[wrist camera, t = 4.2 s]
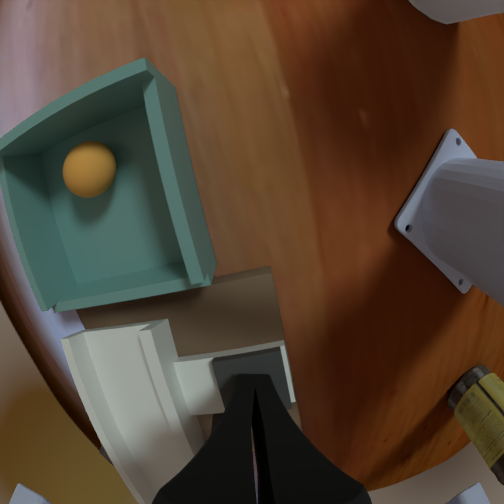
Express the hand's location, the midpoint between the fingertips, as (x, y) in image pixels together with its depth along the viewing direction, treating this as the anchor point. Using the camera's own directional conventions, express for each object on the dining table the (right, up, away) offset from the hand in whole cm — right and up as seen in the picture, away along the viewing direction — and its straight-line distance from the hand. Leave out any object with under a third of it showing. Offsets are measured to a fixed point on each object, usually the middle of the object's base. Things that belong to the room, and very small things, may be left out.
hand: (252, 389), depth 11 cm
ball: (-8, +10, +1) cm, 13 cm away
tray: (-2, -5, +4) cm, 7 cm away
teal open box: (-8, +9, +4) cm, 13 cm away
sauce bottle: (+23, -8, +10) cm, 27 cm away
